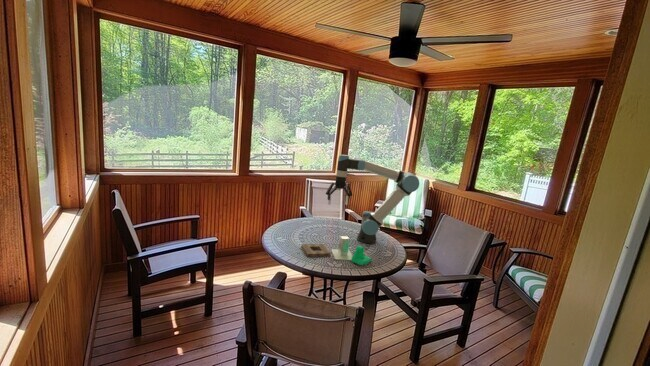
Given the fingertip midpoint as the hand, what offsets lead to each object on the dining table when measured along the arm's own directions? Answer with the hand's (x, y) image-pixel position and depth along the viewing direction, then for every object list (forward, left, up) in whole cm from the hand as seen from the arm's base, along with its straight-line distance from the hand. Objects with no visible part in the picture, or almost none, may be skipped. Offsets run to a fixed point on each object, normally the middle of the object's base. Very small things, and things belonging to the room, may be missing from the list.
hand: (337, 204), depth 222 cm
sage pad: (-2, +24, -29) cm, 37 cm away
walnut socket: (+16, +20, -29) cm, 38 cm away
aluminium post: (-2, +24, -28) cm, 37 cm away
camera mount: (-13, +34, -29) cm, 46 cm away
